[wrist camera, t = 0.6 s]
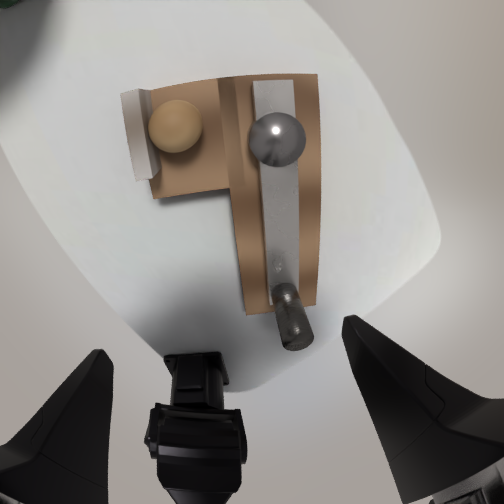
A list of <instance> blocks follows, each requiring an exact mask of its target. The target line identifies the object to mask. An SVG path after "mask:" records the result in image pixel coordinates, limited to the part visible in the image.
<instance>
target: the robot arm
mask: <svg viewBox="0 0 504 504" xmlns="http://www.w3.org/2000/svg"><path fill="white" fill-rule="evenodd" d="M342 339H343V342H344V346H345V348H346V352H347V356H348V359H349V362H350V366H351V369H352V372H353V375H354V377H355V380H356V382H357V385H358V387H359V389H360V391H361V394H362V397H363V399H364V401H365V404H366V406H367V409H368V411H369V414H370V416H371V419H372V421H373V424H374V426H375V429H376V431H377V434H378V436H379V439H380V441H381V444H382V447H383V450H384V452H385V455H386V457H387V460H388V462H389V466H390V469H391V472H392V474H393V477H394V480H395V483H396V486H397V489H398V492H399V495H400V498H401V501H402V503H403V504H408V503H411V502H414V501H417V500H420V499H423V498H425V497H428V496H430V495H432V497H433V499H432V500H431V501H430V502H429V504H504V399H489V398H485V397H481V396H479V395H477V394H475V393H473V392H472V391H470V390H468V389H466V388H464V387H462V386H460V385H459V384H457V383H455V382H453V381H452V380H450V379H448V378H446V377H445V376H443V375H442V374H440V373H438V372H437V371H436V370H434V369H433V368H431V367H430V366H428V365H427V364H426V365H425V363H424V362H423V361H421V360H420V359H418V358H417V357H415V356H414V355H412V354H411V353H410V352H408V351H407V350H405V349H404V348H403V347H401V346H399V345H398V344H397V343H395V342H394V341H393V340H391V339H390V338H388V337H387V336H385V335H384V334H382V333H381V332H380V331H378V330H377V329H375V328H374V327H373V326H371V325H369V324H368V323H367V322H365V321H364V320H362V319H361V318H360V317H358V316H357V315H350V316H346V317H344V320H343V326H342ZM164 363H165V365H166V366H167V368H168V370H169V372H170V374H171V375H172V389H171V400H170V405H164V404H161V403H155V408H153V409H151V410H150V419H149V424H148V428H147V431H146V435H145V438H144V443H145V444H146V445H147V447H148V448H149V452H150V455H151V458H152V459H157V476H158V478H159V481H160V482H161V484H162V486H163V488H164V489H166V490H167V492H168V493H169V494H170V496H171V497H172V499H173V500H174V501H175V503H176V504H226V502H227V501H228V499H229V498H230V497H231V495H232V494H233V493H236V492H237V491H238V489H239V487H240V485H241V482H242V481H241V478H242V476H241V464H245V463H246V460H247V440H246V434H245V429H244V425H243V420H242V416H241V411H240V409H235V410H227V409H224V399H223V398H224V396H223V386H224V385H228V384H229V379H228V375H227V372H226V369H225V365H224V362H223V358H222V355H221V353H219V352H211V353H200V354H186V355H169V356H164ZM113 370H114V366H113V363H112V361H111V359H110V358H109V357H108V355H107V354H106V352H105V351H104V350H103V349H94V350H93V351H92V352H91V353H90V354H89V355H88V356H87V357H86V358H85V359H84V360H83V361H82V362H81V363H80V364H79V366H78V367H77V368H76V369H75V370H74V371H73V372H72V373H71V374H70V376H68V377H67V379H66V380H65V381H64V382H63V383H62V384H61V385H60V386H59V387H58V389H57V390H56V391H55V392H54V393H53V394H52V395H51V397H50V398H49V399H48V400H47V401H46V402H45V403H44V405H43V407H41V408H40V409H39V410H38V411H37V413H36V414H35V415H34V416H33V417H32V418H31V419H30V420H29V421H28V422H27V424H26V425H25V426H24V427H23V428H22V429H21V430H20V431H19V432H18V433H17V434H16V435H15V436H14V437H13V438H12V439H11V440H10V441H8V442H7V443H6V444H4V445H1V446H0V504H108V452H109V435H110V422H111V412H112V401H113V372H114V371H113Z"/></svg>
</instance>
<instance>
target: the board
mask: <svg viewBox="0 0 504 504" xmlns="http://www.w3.org/2000/svg"><path fill="white" fill-rule="evenodd" d="M264 80H293V87H294V101H295V116H296V119H297V120H298V121H299V122H300V123H301V125H302V126H303V128H304V131H305V134H306V145H305V149H304V151H303V153H302V155H301V156H300V157H299V158H298V189H299V290H298V293H299V296H300V299H301V302H302V304H303V307H307V306H313V305H316V293H317V280H318V264H319V245H320V218H321V135H320V109H319V91H318V77H317V74H261V75H245V76H234V77H224V78H216V79H208V80H201V81H195V82H189V83H183V84H178V85H173V86H168V87H163V88H159V89H154V90H144V89H135V90H132V91H128V92H125V93H121V102H122V109H123V116H124V122H125V128H126V134H127V140H128V145H129V150H130V156H131V161H132V165H133V170H134V175H135V179H136V181H140V180H145V179H149V181H150V186H151V191H152V195H153V199H158V198H164V197H170V196H176V195H182V194H189V193H195V192H202V191H209V190H217V189H224V188H230V196H231V204H232V212H233V220H234V228H235V236H236V243H237V251H238V259H239V266H240V273H241V281H242V288H243V296H244V303H245V310H246V315H253V314H260V313H268V312H275V311H274V307H273V305H270V303H269V299H268V288H267V273H266V259H265V245H264V231H263V217H262V204H261V191H260V179H259V166H258V159H257V158H256V157H255V155H254V154H253V152H252V151H251V149H250V147H249V144H248V139H247V135H248V130H249V127H250V125H251V123H252V122H253V121H254V108H253V97H252V87H251V82H252V81H264Z"/></svg>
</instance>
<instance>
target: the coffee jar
mask: <svg viewBox="0 0 504 504" xmlns="http://www.w3.org/2000/svg"><path fill="white" fill-rule="evenodd" d="M18 1H20V0H0V8H8V7H10V6H12V5H14V4H15V3H17V2H18Z"/></svg>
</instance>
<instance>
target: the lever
mask: <svg viewBox="0 0 504 504" xmlns="http://www.w3.org/2000/svg"><path fill="white" fill-rule="evenodd" d="M251 87H252V97H253V108H254V121H253V122H252V123H251V125H250V127H249V130H248V135H247V139H248V144H249V147H250V149H251V151H252V152H253V154H254V155H255V157H256V158H257V159H258V166H259V179H260V191H261V204H262V217H263V231H264V245H265V259H266V273H267V288H268V299H269V303H270V305H273V307H274V311H275V315H276V319H277V324H278V328H279V332H280V336H281V340H282V344H283V347H284V348H285V349H287V350H290V351H298V350H302V349H304V348H306V347H308V346H309V345H310V344H311V343H312V342H313V340H314V335H313V332H312V329H311V327H310V324H309V321H308V318H307V315H306V313H305V310H304V307H303V304H302V302H301V299H300V296H299V293H298V290H299V189H298V158H299V157H300V156H301V155H302V153H303V151H304V149H305V145H306V134H305V131H304V128H303V126H302V125H301V123H300V122H299V121H298V120H297V119H296V116H295V101H294V87H293V80H264V81H252V82H251Z"/></svg>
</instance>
